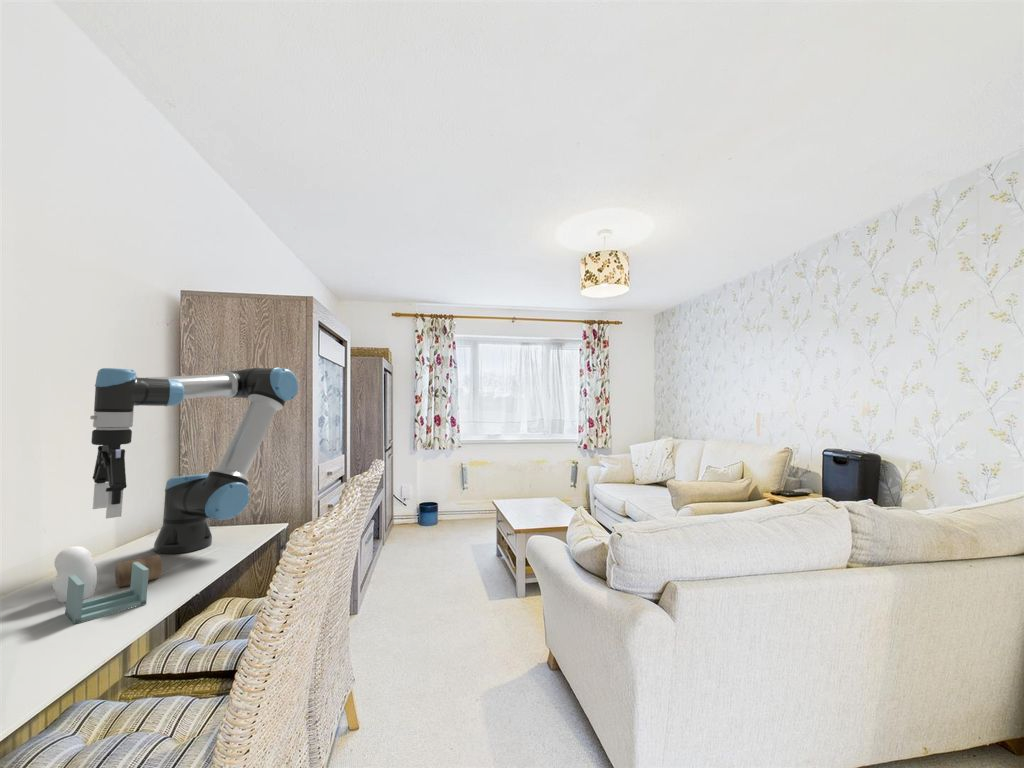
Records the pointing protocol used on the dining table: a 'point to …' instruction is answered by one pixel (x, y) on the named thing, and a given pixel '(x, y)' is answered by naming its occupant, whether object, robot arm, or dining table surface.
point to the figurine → (74, 571)
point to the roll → (125, 569)
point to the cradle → (106, 597)
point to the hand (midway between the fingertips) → (106, 512)
